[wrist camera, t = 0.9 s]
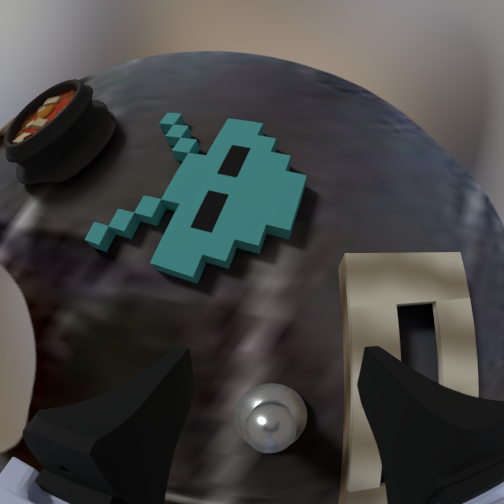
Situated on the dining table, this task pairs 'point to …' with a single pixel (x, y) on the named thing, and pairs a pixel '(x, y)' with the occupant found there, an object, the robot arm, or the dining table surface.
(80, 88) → the casserole
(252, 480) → the dining table surface
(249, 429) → the peg
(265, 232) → the alien figure
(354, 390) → the keyhole plate
